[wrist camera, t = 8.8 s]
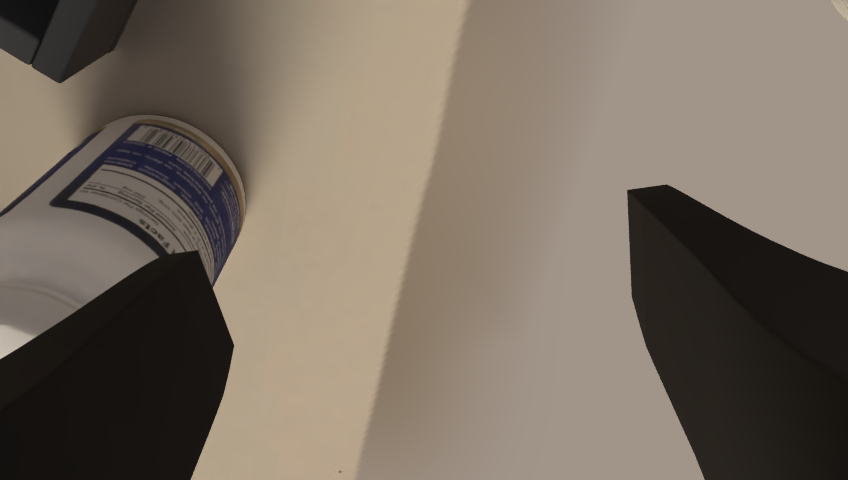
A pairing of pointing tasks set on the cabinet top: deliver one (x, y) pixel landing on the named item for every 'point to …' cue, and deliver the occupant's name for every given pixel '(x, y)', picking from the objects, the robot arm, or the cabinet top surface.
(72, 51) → the bin
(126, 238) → the pill bottle
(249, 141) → the cabinet top surface
